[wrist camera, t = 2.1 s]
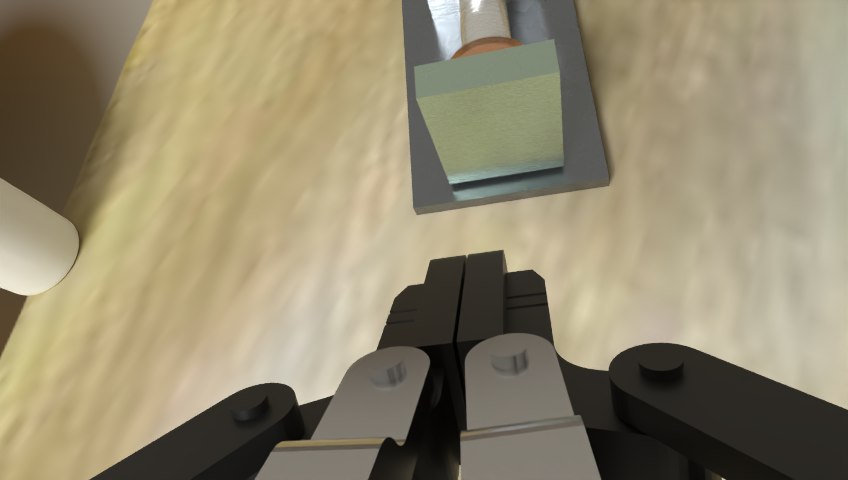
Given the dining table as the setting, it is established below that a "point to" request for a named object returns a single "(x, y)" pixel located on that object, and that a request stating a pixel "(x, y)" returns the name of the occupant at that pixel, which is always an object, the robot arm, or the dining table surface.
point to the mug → (33, 243)
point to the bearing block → (582, 146)
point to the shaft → (492, 99)
